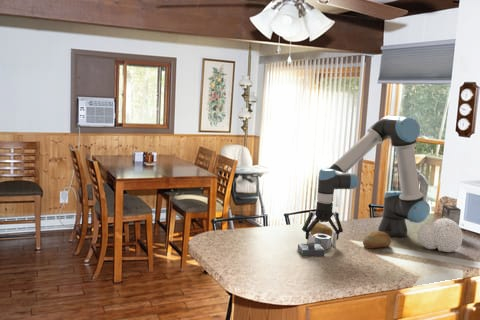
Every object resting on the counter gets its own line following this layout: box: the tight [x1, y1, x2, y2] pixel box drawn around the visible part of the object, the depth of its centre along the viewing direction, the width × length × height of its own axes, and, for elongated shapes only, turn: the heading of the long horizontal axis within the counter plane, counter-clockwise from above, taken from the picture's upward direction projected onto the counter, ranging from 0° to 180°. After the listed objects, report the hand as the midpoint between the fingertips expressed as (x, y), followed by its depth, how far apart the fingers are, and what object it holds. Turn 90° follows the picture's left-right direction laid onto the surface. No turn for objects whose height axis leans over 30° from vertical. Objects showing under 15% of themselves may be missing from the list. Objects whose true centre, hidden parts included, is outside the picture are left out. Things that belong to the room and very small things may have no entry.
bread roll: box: [362, 230, 392, 249], centre depth 229 cm, size 10×15×8 cm, turn 114°
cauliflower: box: [417, 217, 464, 254], centre depth 229 cm, size 20×18×16 cm
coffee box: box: [441, 204, 462, 226], centre depth 255 cm, size 9×6×16 cm
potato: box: [310, 221, 334, 238], centre depth 237 cm, size 10×14×8 cm
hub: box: [314, 234, 332, 250], centre depth 226 cm, size 8×8×5 cm
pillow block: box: [297, 235, 326, 258], centre depth 215 cm, size 10×9×8 cm
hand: (321, 246), depth 226 cm, fingers open, 12 cm apart
